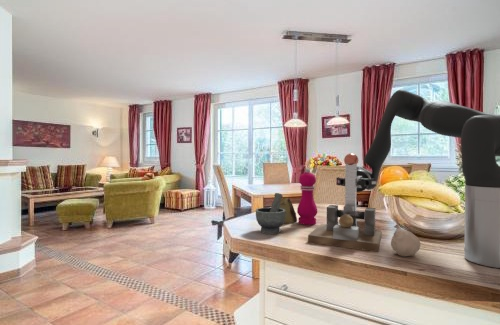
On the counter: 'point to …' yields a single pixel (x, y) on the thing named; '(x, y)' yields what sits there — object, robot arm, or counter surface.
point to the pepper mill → (307, 199)
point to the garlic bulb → (404, 242)
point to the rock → (288, 210)
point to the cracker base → (343, 243)
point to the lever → (351, 189)
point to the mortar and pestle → (271, 216)
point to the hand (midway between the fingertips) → (352, 183)
